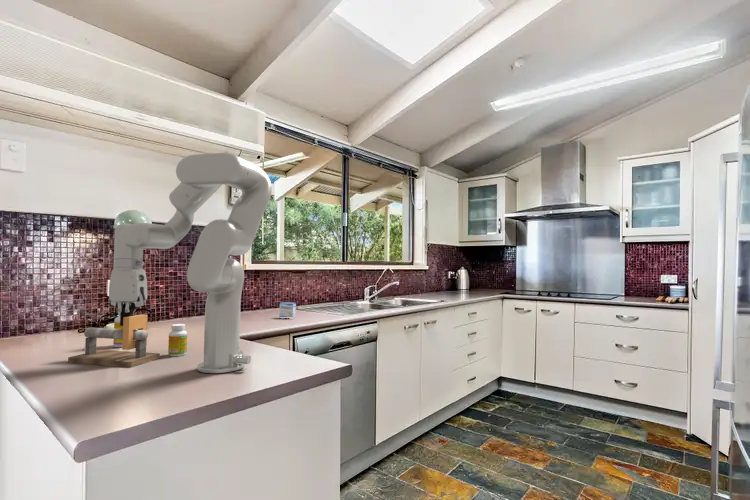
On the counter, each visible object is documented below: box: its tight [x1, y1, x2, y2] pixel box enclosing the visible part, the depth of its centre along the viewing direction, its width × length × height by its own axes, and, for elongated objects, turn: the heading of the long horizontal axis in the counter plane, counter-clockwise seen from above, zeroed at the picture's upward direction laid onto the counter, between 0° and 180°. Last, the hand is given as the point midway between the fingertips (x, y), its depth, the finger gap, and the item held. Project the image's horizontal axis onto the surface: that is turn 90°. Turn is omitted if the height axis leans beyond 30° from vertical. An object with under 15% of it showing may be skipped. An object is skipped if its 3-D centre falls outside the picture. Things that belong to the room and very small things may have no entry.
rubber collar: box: [121, 314, 148, 351], centre depth 119 cm, size 2×7×9 cm, turn 168°
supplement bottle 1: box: [112, 311, 137, 348], centre depth 141 cm, size 7×7×13 cm
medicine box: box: [278, 302, 297, 317], centre depth 215 cm, size 8×4×9 cm, turn 81°
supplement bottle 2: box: [167, 323, 188, 357], centre depth 129 cm, size 5×5×10 cm
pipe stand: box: [67, 327, 161, 368], centre depth 120 cm, size 22×11×10 cm, turn 78°
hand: (126, 325), depth 120 cm, fingers closed
